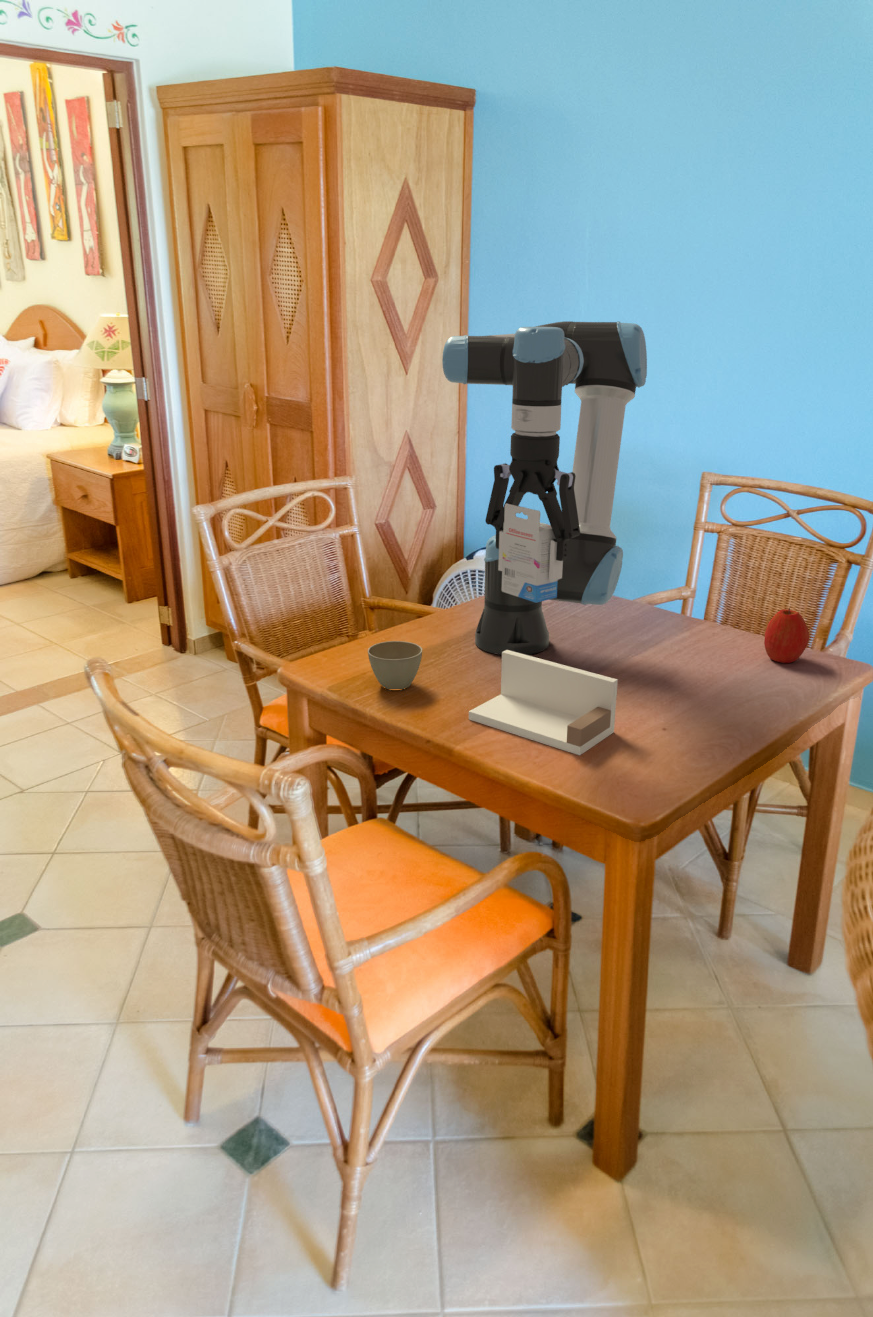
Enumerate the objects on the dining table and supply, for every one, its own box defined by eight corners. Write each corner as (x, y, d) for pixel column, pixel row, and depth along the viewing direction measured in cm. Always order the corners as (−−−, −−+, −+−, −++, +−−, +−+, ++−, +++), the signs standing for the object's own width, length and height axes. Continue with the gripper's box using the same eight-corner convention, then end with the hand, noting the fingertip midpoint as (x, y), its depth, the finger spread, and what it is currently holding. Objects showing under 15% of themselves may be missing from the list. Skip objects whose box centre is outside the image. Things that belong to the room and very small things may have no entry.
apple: (811, 658, 201) (818, 607, 197) (795, 670, 195) (802, 617, 191) (771, 649, 206) (777, 598, 202) (754, 660, 200) (760, 608, 196)
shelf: (468, 719, 174) (469, 667, 171) (505, 699, 182) (506, 649, 179) (579, 755, 161) (582, 700, 158) (613, 732, 169) (617, 679, 166)
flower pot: (431, 680, 190) (431, 645, 188) (407, 700, 182) (407, 663, 179) (384, 672, 194) (383, 637, 191) (358, 690, 186) (357, 654, 183)
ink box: (558, 598, 163) (563, 507, 158) (536, 603, 160) (540, 511, 155) (522, 586, 169) (525, 498, 164) (499, 591, 166) (502, 502, 161)
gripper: (464, 428, 160) (462, 567, 167) (583, 442, 147) (575, 591, 155) (492, 424, 165) (488, 558, 173) (610, 436, 152) (600, 581, 160)
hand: (529, 574), depth 164 cm, fingers closed on ink box, 9 cm apart
